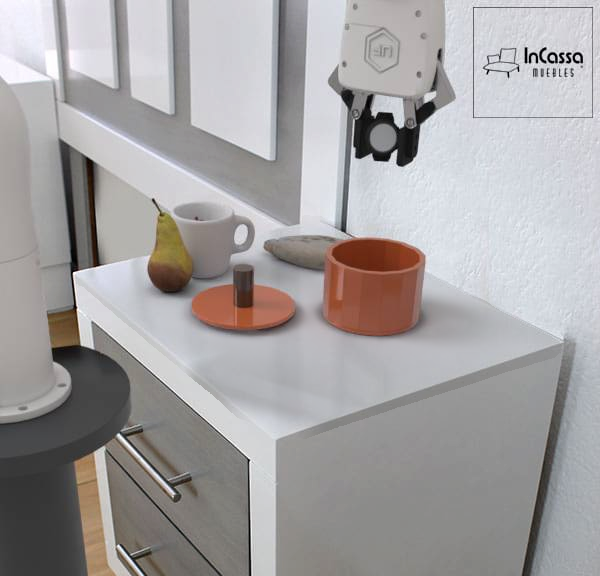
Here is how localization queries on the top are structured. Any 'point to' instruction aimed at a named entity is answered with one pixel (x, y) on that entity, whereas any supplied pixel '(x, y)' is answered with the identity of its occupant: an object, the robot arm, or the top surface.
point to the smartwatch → (382, 137)
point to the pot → (373, 285)
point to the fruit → (169, 256)
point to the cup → (210, 235)
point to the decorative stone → (301, 249)
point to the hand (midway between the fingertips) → (384, 158)
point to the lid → (243, 303)
